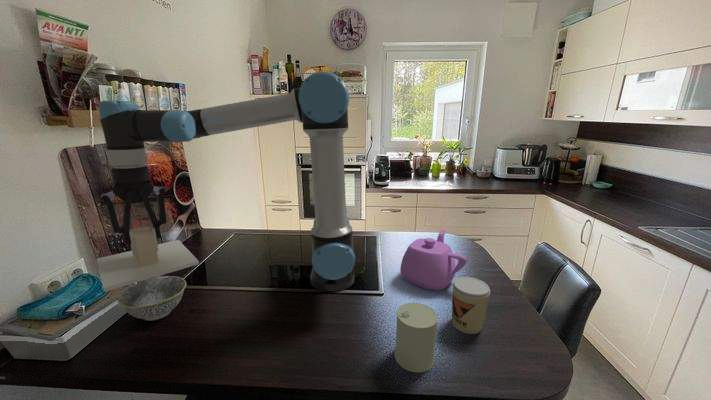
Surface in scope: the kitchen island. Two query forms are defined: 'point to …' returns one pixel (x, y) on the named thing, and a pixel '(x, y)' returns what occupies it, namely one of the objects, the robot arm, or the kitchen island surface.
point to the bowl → (152, 297)
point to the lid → (143, 261)
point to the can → (415, 337)
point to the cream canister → (469, 304)
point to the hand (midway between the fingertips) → (145, 252)
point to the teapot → (430, 263)
